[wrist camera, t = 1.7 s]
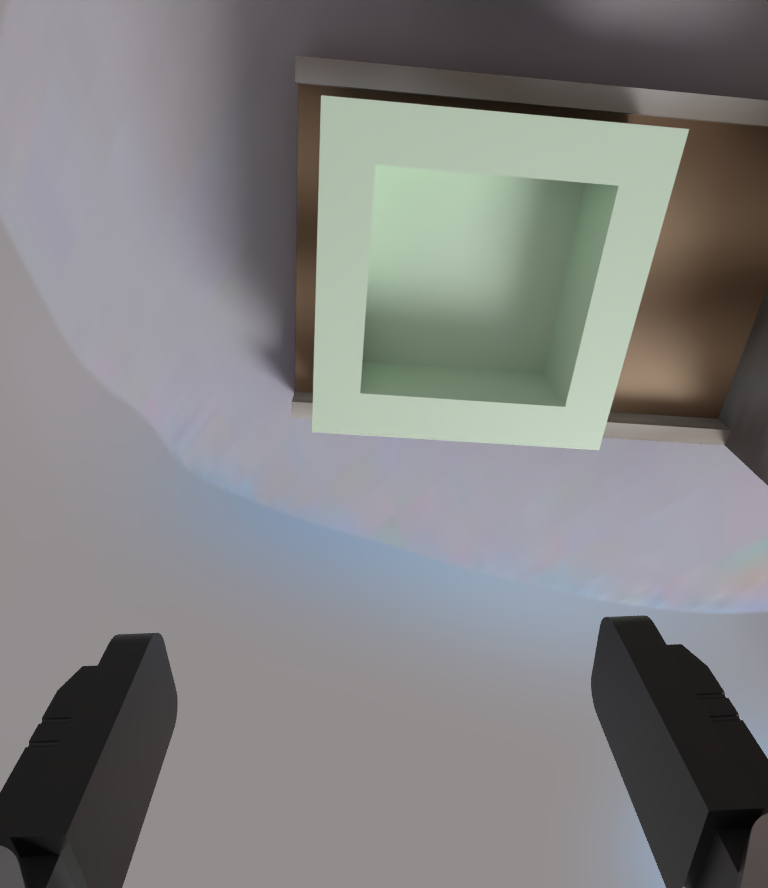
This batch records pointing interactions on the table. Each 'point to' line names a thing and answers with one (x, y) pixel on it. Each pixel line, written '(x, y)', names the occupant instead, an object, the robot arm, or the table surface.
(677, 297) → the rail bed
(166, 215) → the table surface
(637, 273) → the slider block
